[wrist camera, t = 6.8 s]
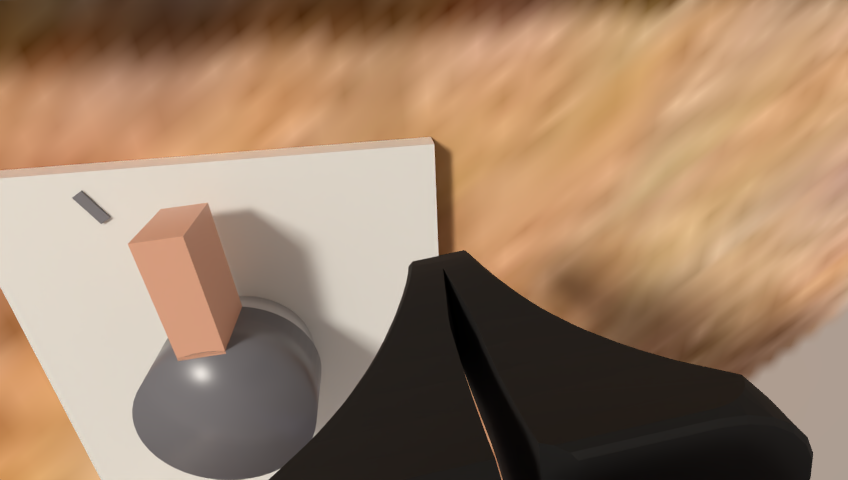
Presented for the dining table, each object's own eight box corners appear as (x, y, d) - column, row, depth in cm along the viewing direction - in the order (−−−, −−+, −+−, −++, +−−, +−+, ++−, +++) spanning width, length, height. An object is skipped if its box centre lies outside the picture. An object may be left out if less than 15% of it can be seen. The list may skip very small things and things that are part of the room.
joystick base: (430, 136, 18) (438, 151, 16) (443, 440, 25) (449, 474, 23) (-33, 172, 17) (-79, 193, 15) (121, 482, 24) (102, 521, 22)
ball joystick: (334, 413, 20) (331, 464, 18) (189, 437, 20) (168, 492, 18) (277, 192, 16) (264, 224, 14) (88, 218, 15) (43, 255, 13)
